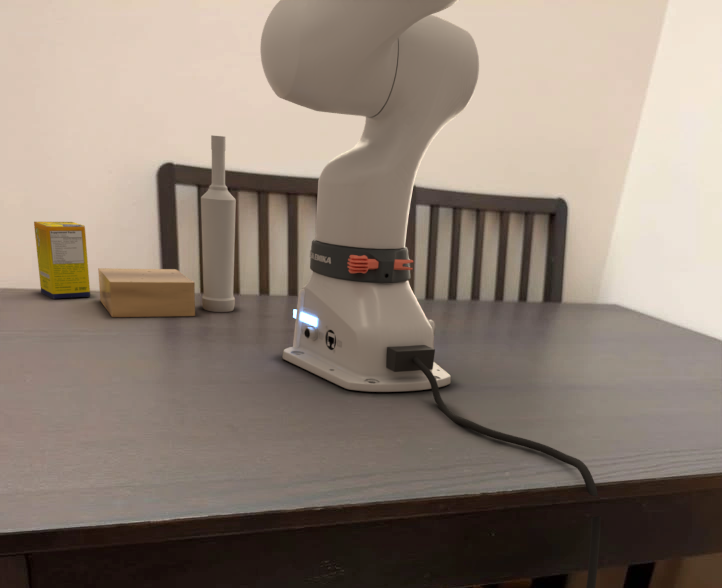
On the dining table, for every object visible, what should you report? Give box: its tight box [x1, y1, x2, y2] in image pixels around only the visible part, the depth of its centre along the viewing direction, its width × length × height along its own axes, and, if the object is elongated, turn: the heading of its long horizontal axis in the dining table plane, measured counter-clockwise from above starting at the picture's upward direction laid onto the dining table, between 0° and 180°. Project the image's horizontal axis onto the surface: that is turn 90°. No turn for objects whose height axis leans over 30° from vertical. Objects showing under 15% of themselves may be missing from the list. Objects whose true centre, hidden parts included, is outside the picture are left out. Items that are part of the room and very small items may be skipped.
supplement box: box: [33, 220, 91, 300], centre depth 114 cm, size 6×6×11 cm
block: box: [97, 267, 196, 318], centre depth 111 cm, size 12×12×5 cm
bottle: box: [200, 135, 237, 313], centre depth 111 cm, size 5×5×25 cm
